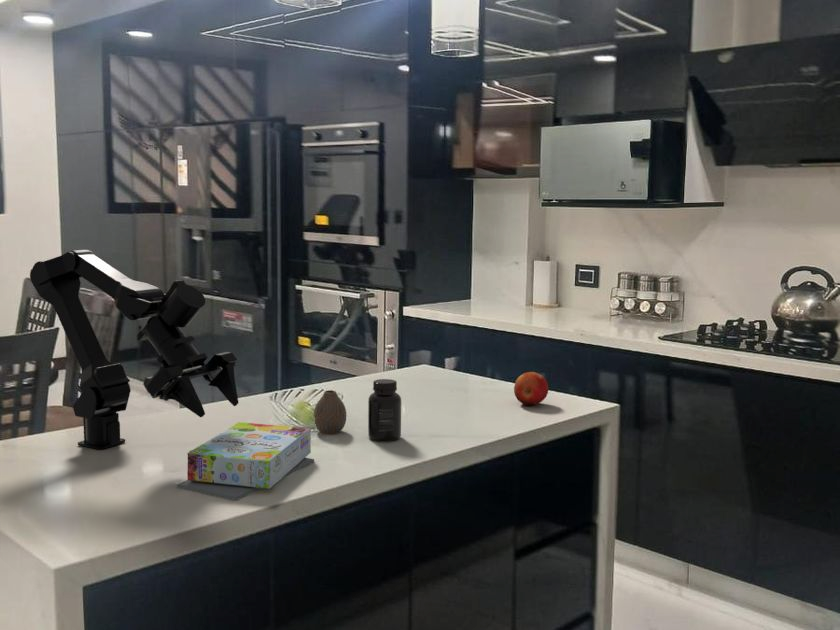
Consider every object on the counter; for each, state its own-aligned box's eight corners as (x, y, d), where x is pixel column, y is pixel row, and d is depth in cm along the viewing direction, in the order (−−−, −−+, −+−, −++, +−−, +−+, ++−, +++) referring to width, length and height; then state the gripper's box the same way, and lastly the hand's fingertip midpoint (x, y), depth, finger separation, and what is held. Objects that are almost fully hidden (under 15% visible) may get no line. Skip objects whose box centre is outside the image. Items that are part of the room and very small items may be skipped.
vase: (332, 438, 173) (333, 396, 172) (306, 433, 177) (306, 392, 176) (352, 431, 179) (353, 390, 178) (327, 425, 183) (327, 386, 182)
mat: (176, 487, 142) (176, 484, 142) (259, 452, 163) (259, 449, 163) (236, 500, 137) (236, 497, 137) (314, 462, 158) (314, 459, 157)
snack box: (186, 484, 143) (269, 490, 140) (185, 452, 142) (269, 458, 139) (239, 448, 164) (312, 453, 160) (238, 420, 163) (312, 424, 160)
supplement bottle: (406, 436, 176) (407, 379, 175) (391, 444, 170) (392, 386, 169) (377, 431, 179) (378, 376, 178) (361, 439, 173) (362, 382, 171)
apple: (551, 403, 207) (553, 372, 206) (537, 410, 200) (539, 377, 199) (522, 399, 211) (523, 367, 210) (507, 405, 204) (508, 373, 203)
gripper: (183, 362, 165) (228, 424, 162) (110, 379, 149) (159, 449, 146) (214, 326, 161) (261, 389, 158) (142, 339, 144) (194, 411, 141)
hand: (220, 410), depth 151 cm, fingers open, 9 cm apart
